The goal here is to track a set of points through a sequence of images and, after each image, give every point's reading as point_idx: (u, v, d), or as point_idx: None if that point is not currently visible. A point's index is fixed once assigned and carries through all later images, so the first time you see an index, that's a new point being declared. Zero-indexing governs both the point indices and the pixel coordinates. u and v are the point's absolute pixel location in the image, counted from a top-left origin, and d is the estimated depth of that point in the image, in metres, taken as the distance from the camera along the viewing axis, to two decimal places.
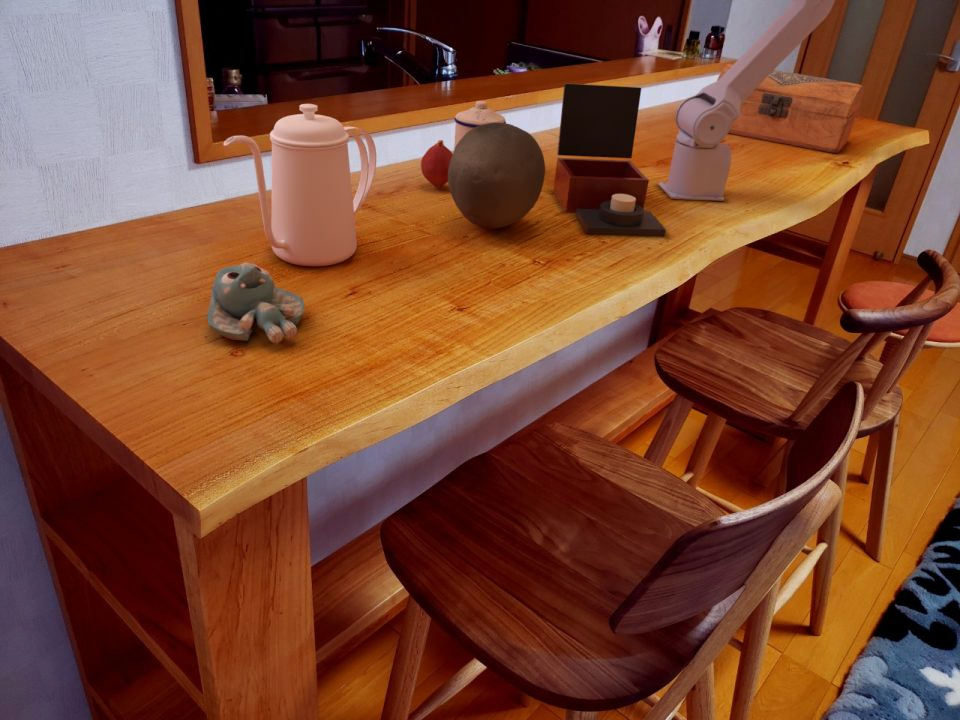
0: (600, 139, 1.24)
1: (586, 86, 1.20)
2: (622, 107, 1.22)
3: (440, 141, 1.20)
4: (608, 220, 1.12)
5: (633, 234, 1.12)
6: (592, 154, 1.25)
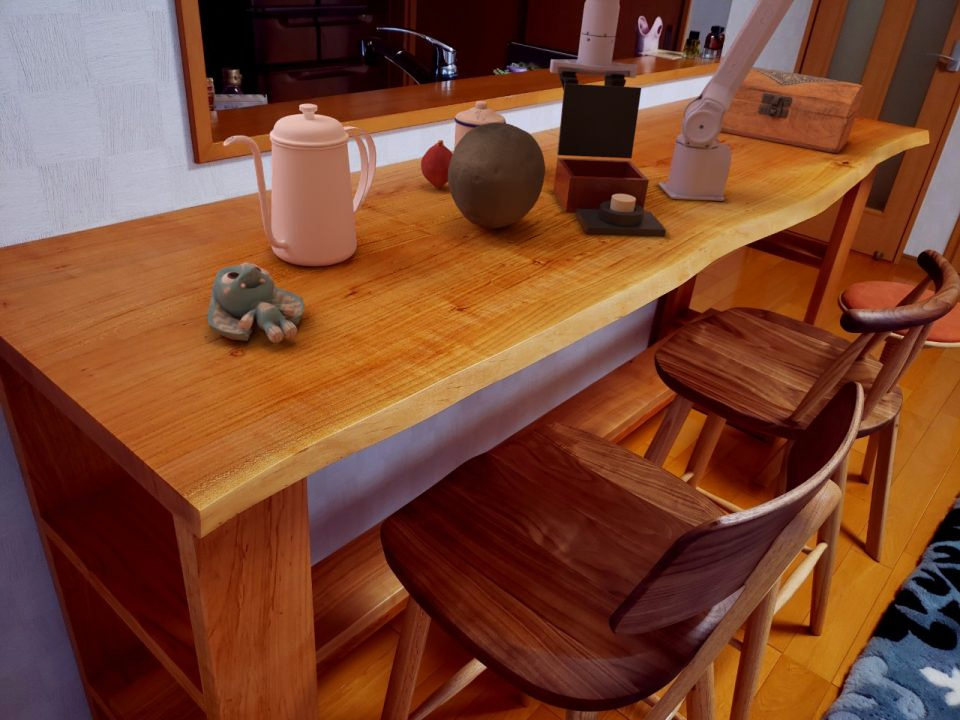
0: (600, 139, 1.24)
1: (586, 86, 1.20)
2: (622, 107, 1.22)
3: (440, 141, 1.20)
4: (608, 220, 1.12)
5: (633, 234, 1.12)
6: (592, 154, 1.25)
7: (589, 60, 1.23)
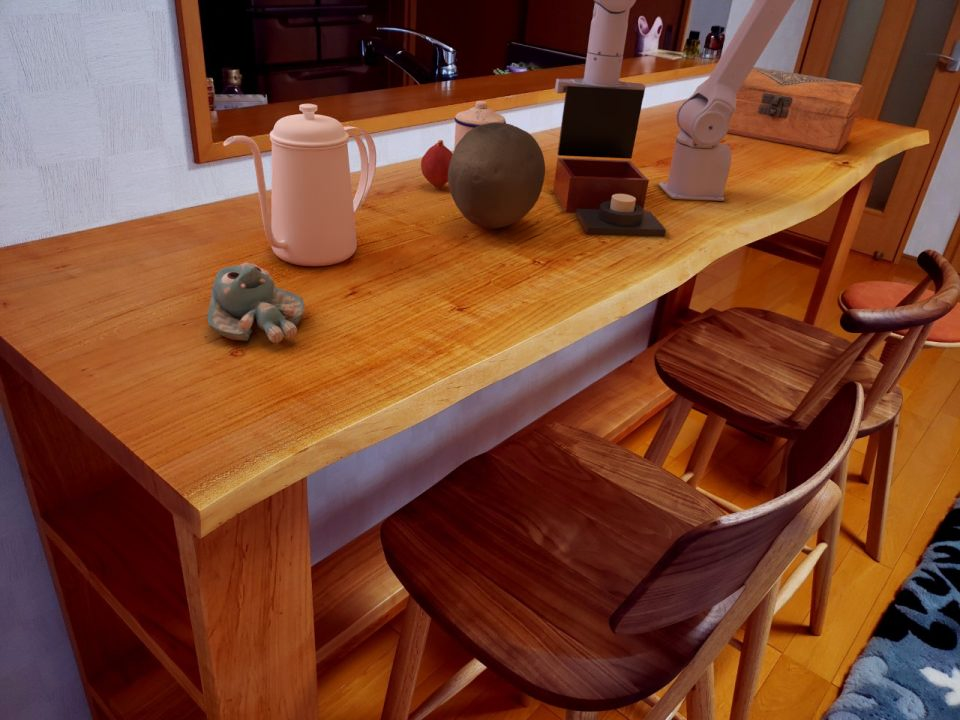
0: (600, 140, 1.23)
1: (588, 88, 1.18)
2: (624, 109, 1.21)
3: (440, 141, 1.20)
4: (608, 220, 1.12)
5: (633, 234, 1.12)
6: (592, 154, 1.25)
7: (596, 80, 1.19)
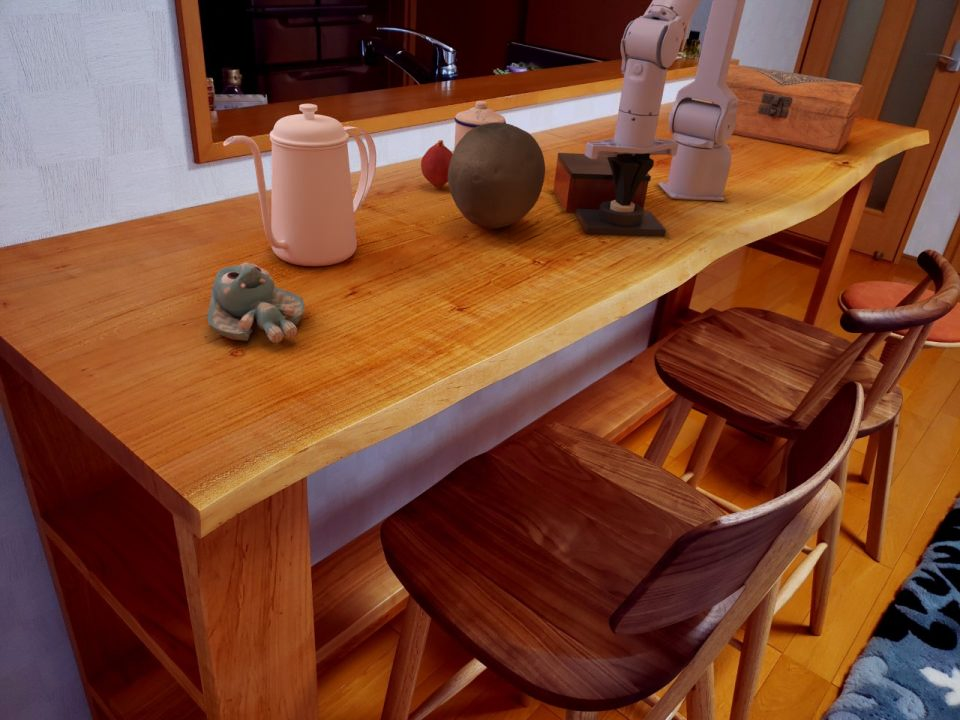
0: None
1: (592, 178, 1.16)
2: None
3: (440, 141, 1.20)
4: (608, 220, 1.12)
5: (633, 234, 1.12)
6: None
7: (634, 142, 1.06)
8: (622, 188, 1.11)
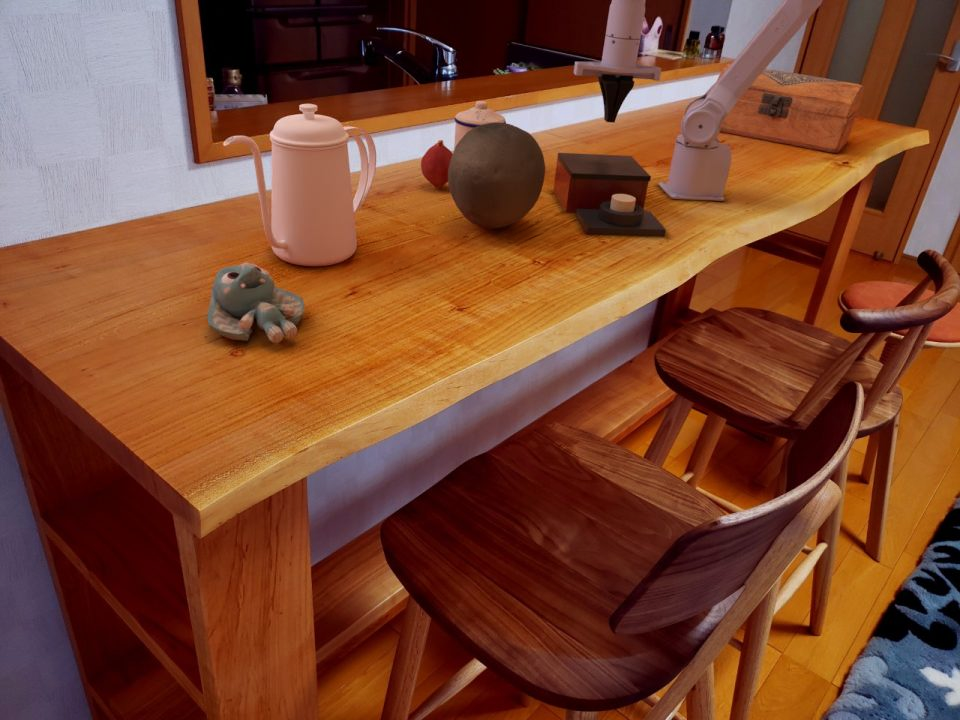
0: None
1: (592, 178, 1.16)
2: None
3: (440, 141, 1.20)
4: (608, 220, 1.12)
5: (633, 234, 1.12)
6: None
7: (614, 62, 1.23)
8: None
